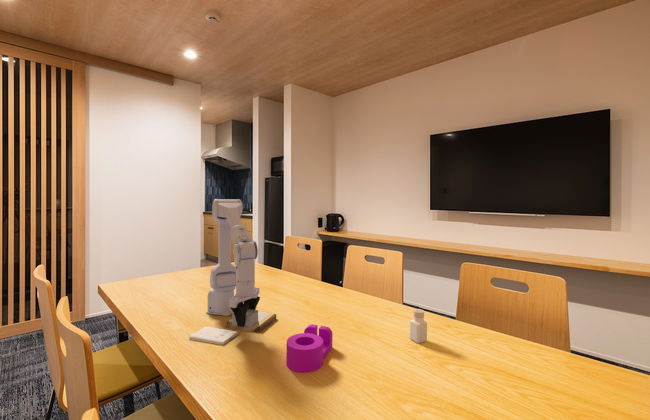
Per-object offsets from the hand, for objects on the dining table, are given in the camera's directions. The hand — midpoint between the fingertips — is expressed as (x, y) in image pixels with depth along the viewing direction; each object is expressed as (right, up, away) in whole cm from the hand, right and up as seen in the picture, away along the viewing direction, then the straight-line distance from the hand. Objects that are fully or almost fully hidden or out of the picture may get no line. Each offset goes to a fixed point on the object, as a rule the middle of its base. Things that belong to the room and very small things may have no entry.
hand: (245, 322), depth 101 cm
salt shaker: (+54, -6, 0) cm, 55 cm away
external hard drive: (-10, -6, +2) cm, 12 cm away
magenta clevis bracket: (+21, -6, -11) cm, 24 cm away
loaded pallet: (0, -1, 0) cm, 2 cm away
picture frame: (-1, -5, +13) cm, 14 cm away
